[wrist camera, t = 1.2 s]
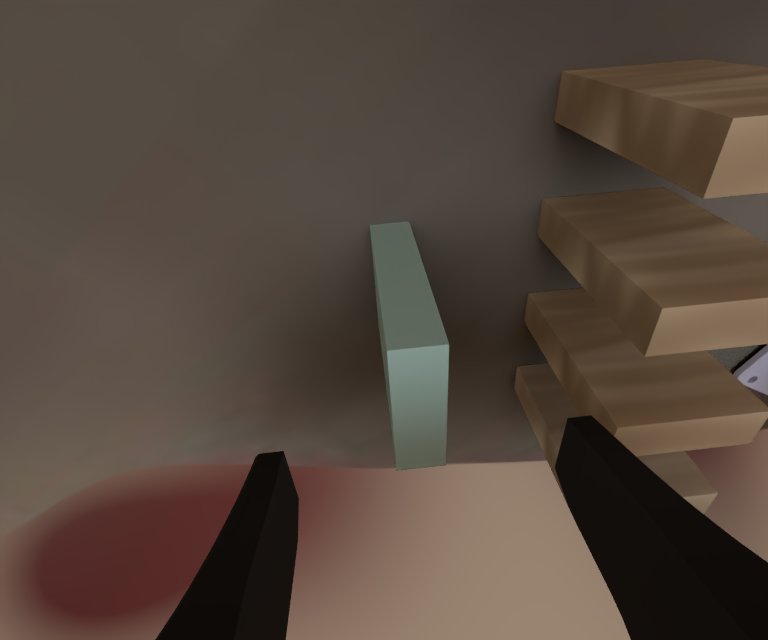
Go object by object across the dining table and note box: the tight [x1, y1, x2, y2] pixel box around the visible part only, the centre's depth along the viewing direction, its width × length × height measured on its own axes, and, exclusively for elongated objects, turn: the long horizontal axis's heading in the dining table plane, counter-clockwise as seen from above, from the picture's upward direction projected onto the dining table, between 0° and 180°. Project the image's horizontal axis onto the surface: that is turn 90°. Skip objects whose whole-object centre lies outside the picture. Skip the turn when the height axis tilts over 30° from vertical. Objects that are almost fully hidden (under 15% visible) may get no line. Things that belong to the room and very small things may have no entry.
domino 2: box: [537, 187, 768, 357], centre depth 15 cm, size 2×5×8 cm, turn 94°
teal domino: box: [370, 221, 449, 471], centre depth 16 cm, size 2×5×8 cm, turn 4°
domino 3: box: [524, 288, 768, 456], centre depth 17 cm, size 2×5×8 cm, turn 94°
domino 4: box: [514, 363, 718, 528], centre depth 20 cm, size 2×5×8 cm, turn 94°
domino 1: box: [554, 59, 768, 199], centre depth 12 cm, size 2×5×8 cm, turn 94°
